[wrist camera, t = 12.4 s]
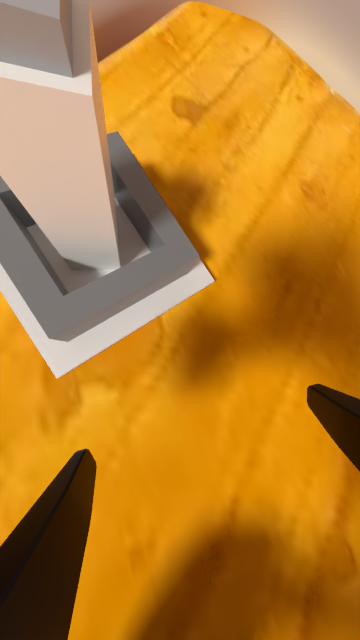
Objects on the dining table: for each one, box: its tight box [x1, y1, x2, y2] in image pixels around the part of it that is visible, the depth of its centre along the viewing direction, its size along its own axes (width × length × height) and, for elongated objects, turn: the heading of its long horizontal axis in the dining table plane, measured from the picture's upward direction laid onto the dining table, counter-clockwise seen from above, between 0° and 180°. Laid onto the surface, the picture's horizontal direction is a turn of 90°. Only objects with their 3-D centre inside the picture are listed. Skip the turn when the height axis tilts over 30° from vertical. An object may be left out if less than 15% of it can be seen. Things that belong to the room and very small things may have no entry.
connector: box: [0, 0, 121, 270], centre depth 11 cm, size 4×4×13 cm
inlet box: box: [0, 131, 214, 378], centre depth 16 cm, size 16×16×4 cm
